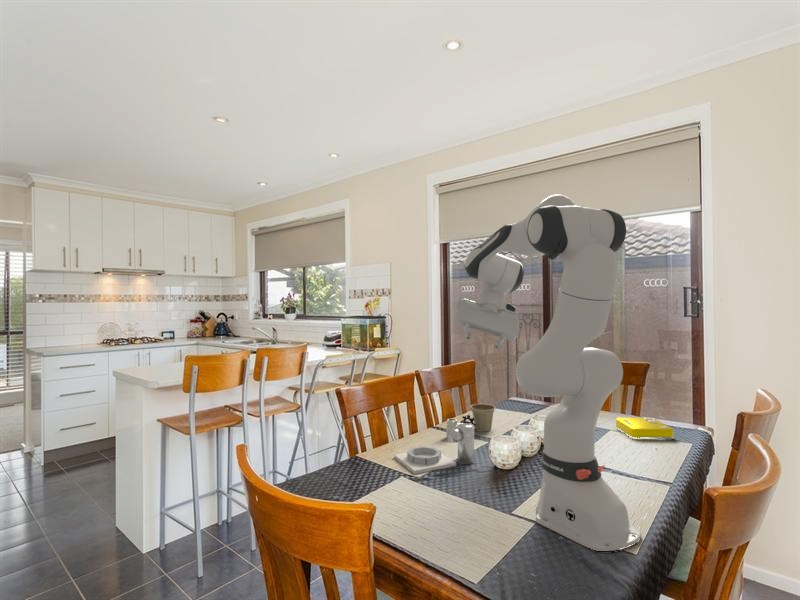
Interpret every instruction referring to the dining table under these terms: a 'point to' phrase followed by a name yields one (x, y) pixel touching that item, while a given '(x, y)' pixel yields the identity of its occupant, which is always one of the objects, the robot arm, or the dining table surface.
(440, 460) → the vent flange
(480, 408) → the flower pot
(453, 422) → the valve
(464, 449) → the duct elbow
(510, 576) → the dining table surface
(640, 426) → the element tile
